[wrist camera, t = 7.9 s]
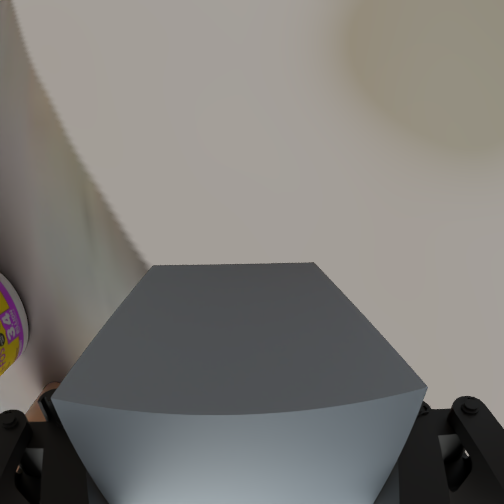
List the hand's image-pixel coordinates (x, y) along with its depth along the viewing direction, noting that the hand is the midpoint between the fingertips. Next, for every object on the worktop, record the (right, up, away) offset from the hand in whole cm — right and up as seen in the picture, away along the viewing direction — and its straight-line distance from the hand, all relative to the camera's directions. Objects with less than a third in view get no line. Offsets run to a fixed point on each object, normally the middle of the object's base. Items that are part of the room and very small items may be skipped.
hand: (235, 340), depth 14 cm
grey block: (0, 0, 0) cm, 0 cm away
